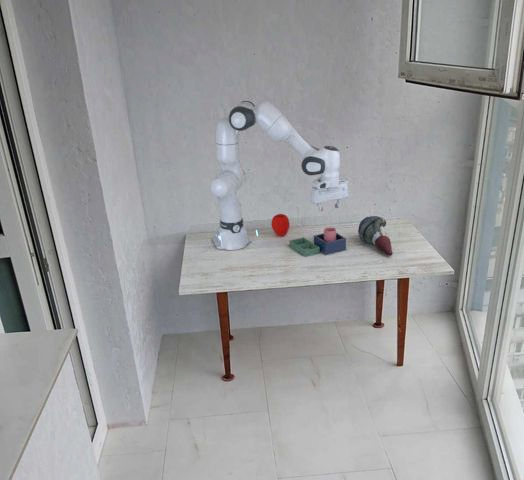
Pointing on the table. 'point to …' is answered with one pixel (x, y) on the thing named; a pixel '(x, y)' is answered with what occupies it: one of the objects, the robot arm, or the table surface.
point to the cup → (329, 234)
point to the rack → (304, 246)
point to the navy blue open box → (330, 244)
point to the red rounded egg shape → (280, 224)
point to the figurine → (375, 233)
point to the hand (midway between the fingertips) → (328, 209)
